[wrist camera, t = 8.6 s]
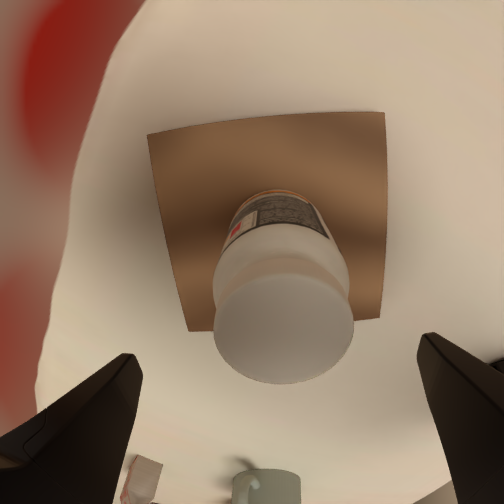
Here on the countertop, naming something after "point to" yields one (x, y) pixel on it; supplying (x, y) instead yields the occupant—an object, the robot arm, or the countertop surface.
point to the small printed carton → (141, 481)
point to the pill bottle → (281, 291)
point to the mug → (266, 487)
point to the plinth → (273, 178)
